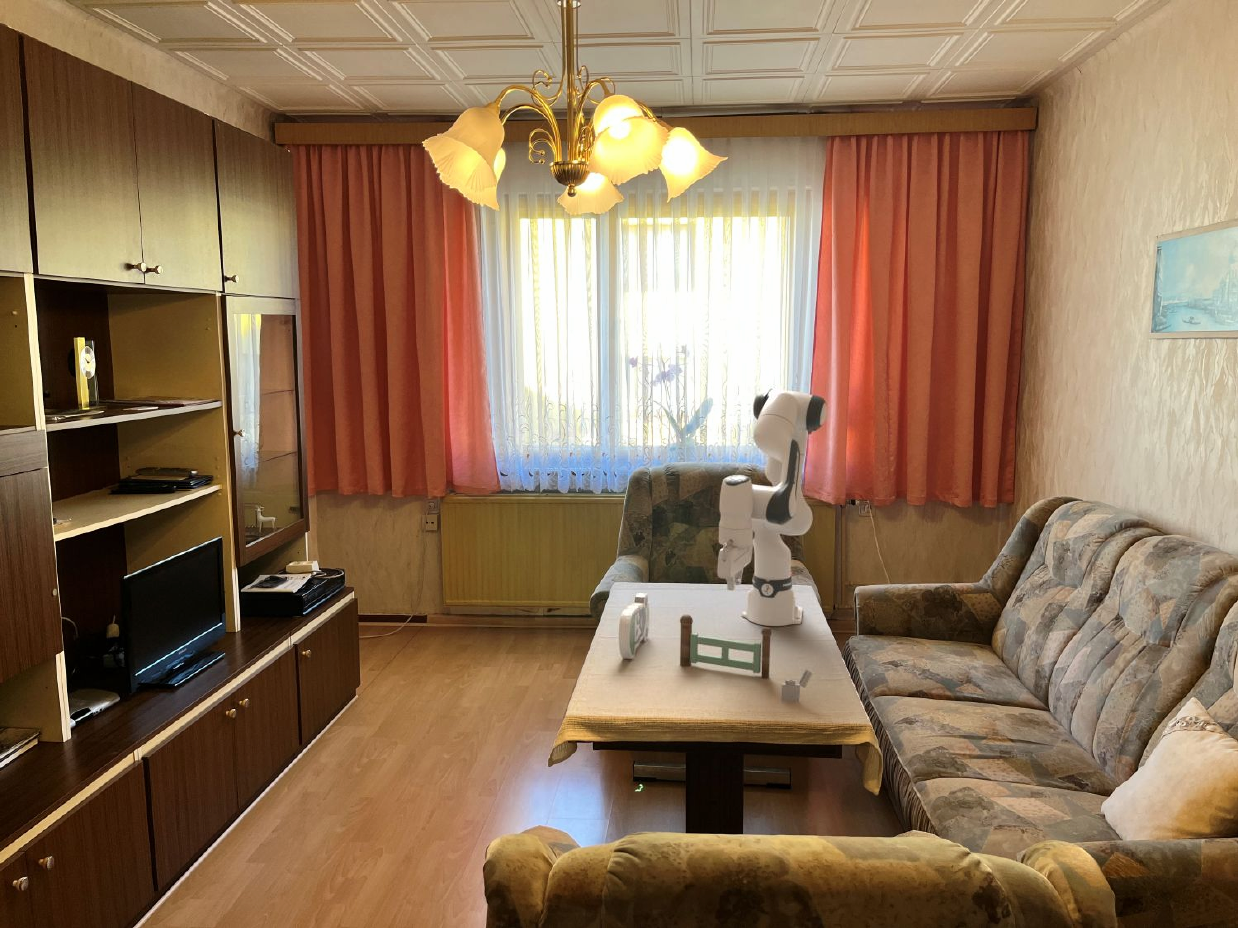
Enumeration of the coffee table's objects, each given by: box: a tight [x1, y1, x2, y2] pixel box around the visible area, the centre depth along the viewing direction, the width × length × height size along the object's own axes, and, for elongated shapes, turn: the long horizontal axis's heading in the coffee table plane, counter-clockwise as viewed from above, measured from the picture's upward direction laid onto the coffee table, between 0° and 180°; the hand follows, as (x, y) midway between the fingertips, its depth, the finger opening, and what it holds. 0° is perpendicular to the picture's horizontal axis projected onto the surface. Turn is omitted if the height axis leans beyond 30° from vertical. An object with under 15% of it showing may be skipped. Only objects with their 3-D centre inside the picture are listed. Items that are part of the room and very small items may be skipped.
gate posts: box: [679, 614, 773, 679], centre depth 246 cm, size 3×25×14 cm, turn 66°
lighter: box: [780, 668, 813, 703], centre depth 227 cm, size 7×2×8 cm, turn 87°
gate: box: [690, 631, 762, 675], centre depth 246 cm, size 2×19×8 cm, turn 66°
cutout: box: [618, 592, 650, 660], centre depth 262 cm, size 15×3×25 cm
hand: (734, 586), depth 250 cm, fingers open, 4 cm apart
